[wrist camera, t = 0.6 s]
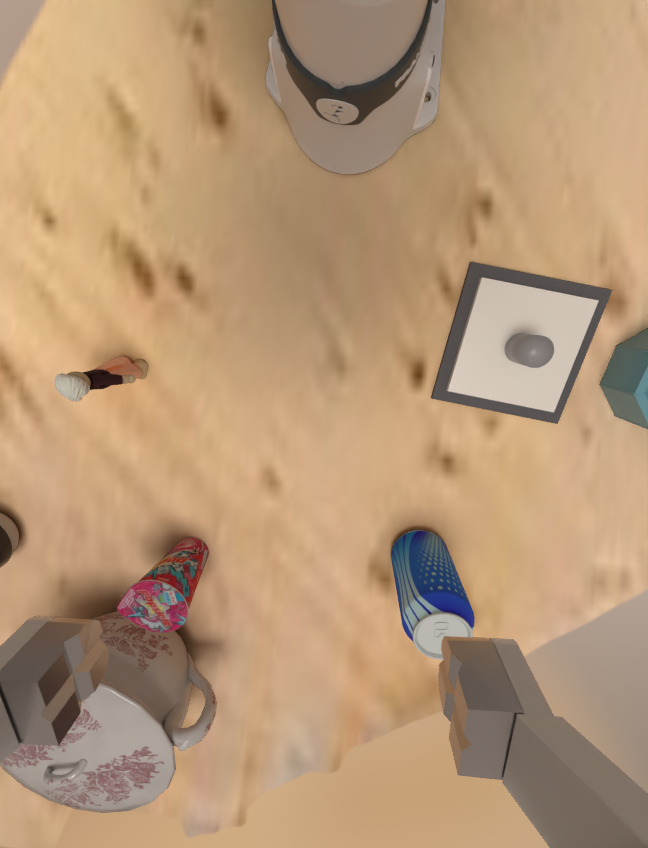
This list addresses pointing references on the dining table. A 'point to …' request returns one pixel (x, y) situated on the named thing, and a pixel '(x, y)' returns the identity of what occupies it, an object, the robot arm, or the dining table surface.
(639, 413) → the bowl
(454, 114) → the dining table surface
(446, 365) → the mat
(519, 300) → the cover board
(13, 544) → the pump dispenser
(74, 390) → the grandmother figurine
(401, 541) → the beer can
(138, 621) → the cup
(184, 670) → the chamber pot
